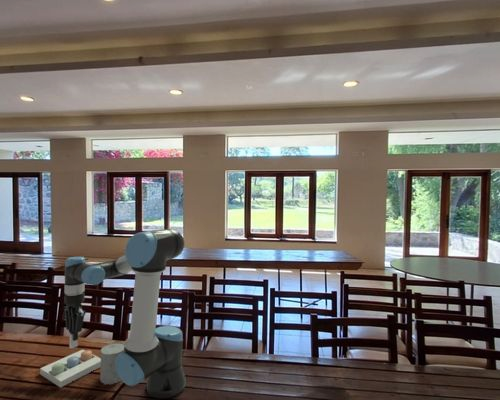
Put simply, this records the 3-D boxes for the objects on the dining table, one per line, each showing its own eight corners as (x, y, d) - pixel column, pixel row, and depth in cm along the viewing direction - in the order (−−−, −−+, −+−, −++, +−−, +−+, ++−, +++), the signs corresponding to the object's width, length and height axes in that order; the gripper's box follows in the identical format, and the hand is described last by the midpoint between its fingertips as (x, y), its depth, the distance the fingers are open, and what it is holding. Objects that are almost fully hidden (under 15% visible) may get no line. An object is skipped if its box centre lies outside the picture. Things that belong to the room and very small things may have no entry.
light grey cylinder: (129, 371, 126) (130, 343, 126) (117, 385, 116) (118, 355, 116) (108, 369, 127) (109, 341, 127) (94, 383, 117) (95, 353, 117)
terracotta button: (93, 361, 132) (94, 352, 132) (84, 366, 128) (84, 356, 128) (88, 358, 134) (88, 349, 134) (78, 363, 130) (78, 353, 130)
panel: (103, 365, 130) (103, 359, 130) (60, 387, 114) (60, 381, 114) (82, 354, 138) (82, 349, 138) (40, 374, 122) (40, 368, 122)
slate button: (80, 368, 127) (80, 358, 127) (70, 373, 123) (70, 363, 123) (74, 365, 129) (75, 355, 129) (64, 370, 125) (64, 359, 125)
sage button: (66, 375, 121) (66, 364, 121) (55, 381, 118) (55, 370, 118) (60, 372, 124) (60, 361, 124) (49, 377, 120) (49, 366, 120)
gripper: (92, 293, 126) (90, 347, 126) (75, 288, 132) (73, 339, 132) (74, 298, 119) (73, 355, 119) (57, 292, 125) (56, 346, 126)
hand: (73, 346), depth 126 cm, fingers closed
